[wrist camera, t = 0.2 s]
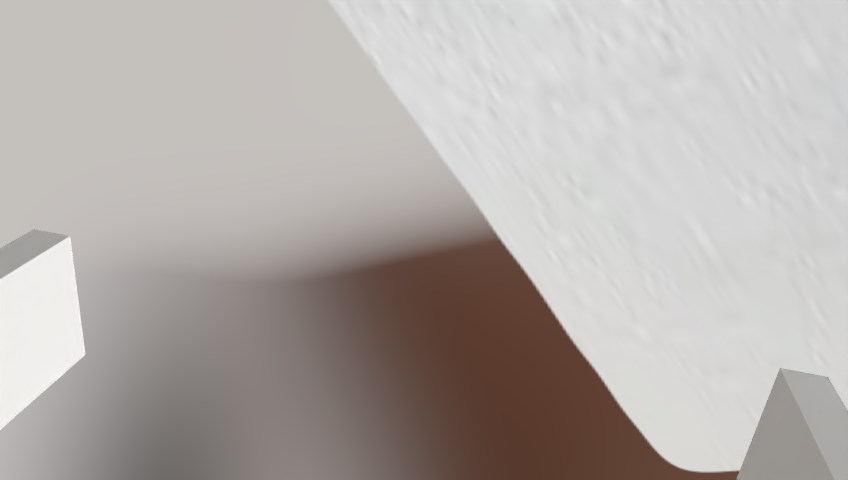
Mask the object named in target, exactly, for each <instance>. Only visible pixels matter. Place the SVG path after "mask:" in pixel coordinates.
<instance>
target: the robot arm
mask: <svg viewBox="0 0 848 480" xmlns="http://www.w3.org/2000/svg"><path fill="white" fill-rule="evenodd" d="M84 355H85V348H84V341H83V333H82V325H81V317H80V309H79V302H78V294H77V286H76V279H75V271H74V263H73V255H72V247H71V240H70V236H66V235H62V234H56V233H51V232H45V231H40V230H35V229H34V230H32V231H30V232H28V233H27V234H25V235H23V236H22V237H20V238H18V239H16V240H14V241H13V242H11V243H9V244H7V245H5V246H4V247H2V248H0V429H1V428H3V427H4V426H5V425H6V424H7V423H8V422H9V421H11V420H12V419H13V418H14V417H15V416H16V415H17V414H19V413H20V412H21V411H22V410H23V409H24V408H25V407H26V406H28V405H29V404H30V403H31V402H32V401H33V400H34V399H36V398H37V397H38V396H39V395H40V394H41V393H42V392H44V391H45V390H46V389H47V388H48V387H49V386H50V385H51V384H53V383H54V382H55V381H56V380H57V379H58V378H59V377H61V376H62V375H63V374H64V373H65V372H66V371H67V370H68V369H70V368H71V367H72V366H73V365H74V364H75V363H76V362H77V361H79V360H80V359H81V358H82V357H83V356H84ZM736 480H848V411H847V409H846V407H845V406H844V404H843V402H842V400H841V399H840V397H839V395H838V394H837V392H836V390H835V388H834V387H833V385H832V383H831V382H830V380H829V378H828V377H825V376H819V375H814V374H809V373H803V372H798V371H793V370H787V369H782V368H780V370H779V372H778V375H777V377H776V380H775V383H774V385H773V388H772V390H771V393H770V395H769V398H768V400H767V403H766V405H765V408H764V411H763V413H762V416H761V418H760V421H759V423H758V426H757V428H756V431H755V434H754V436H753V439H752V441H751V444H750V446H749V449H748V451H747V454H746V456H745V459H744V462H743V464H742V467H741V469H740V472H739V475H738V477H737V479H736Z"/></svg>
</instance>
